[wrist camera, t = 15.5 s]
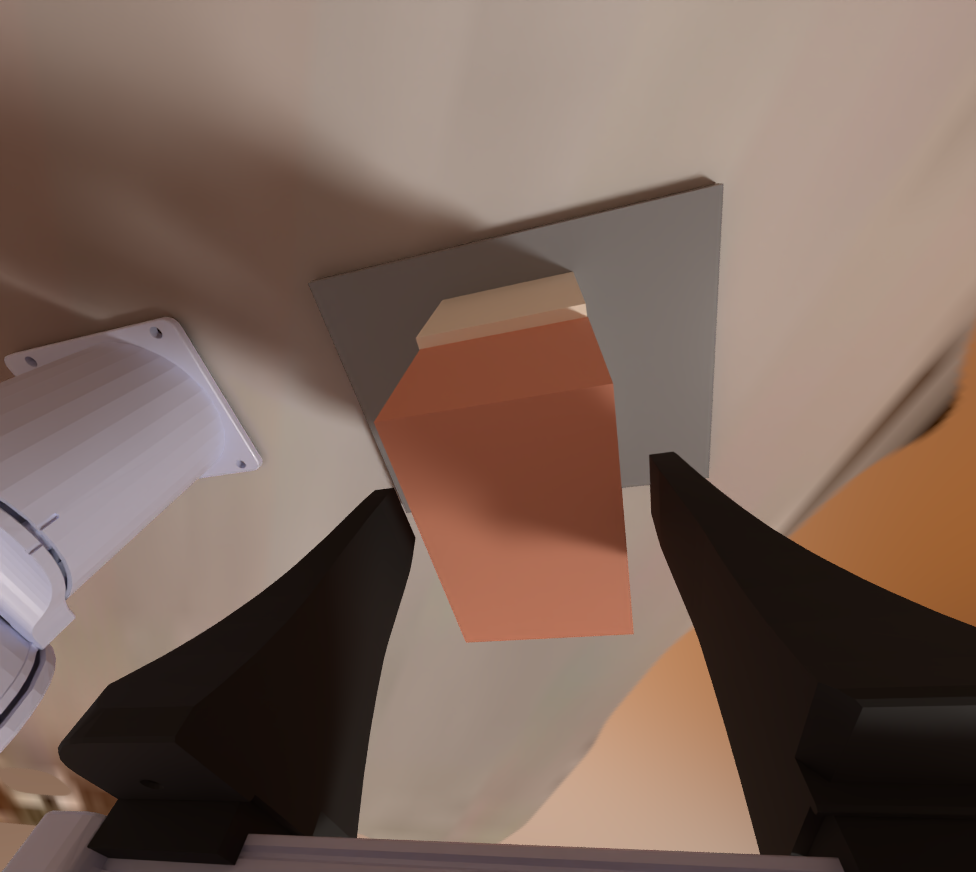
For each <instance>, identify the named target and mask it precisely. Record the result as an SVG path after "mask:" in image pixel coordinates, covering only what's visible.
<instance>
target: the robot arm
mask: <svg viewBox="0 0 976 872" xmlns="http://www.w3.org/2000/svg"><path fill="white" fill-rule="evenodd" d="M157 328H158V329H159V330H160V331H161V332H162V335H161V334H160V333H159V332H158V330H157ZM4 362H5V364H6V366H7V367H8V369H9V370H10V371H11V372H12V373H13V374H14V375H15V377H13V378H10V379H8V380H5V381H3V382H0V753H1V752H2V751H3V750H4V748H5V747H6V746H7V745H8V744H9V743H10V742H11V741H12V739H13V738H14V737H15V736H16V735H17V733H18V732H19V731H20V730H21V728H22V727H23V726H24V724H25V723H26V721H27V720H28V719H29V718H30V716H31V715H32V713H33V712H34V710H35V709H36V707H37V706H38V704H39V703H40V701H41V700H42V698H43V696H44V694H45V692H46V691H47V689H48V687H49V685H50V683H51V680H52V677H53V674H54V671H55V663H56V657H55V654H54V650H53V647H52V646H51V645H50V644H49V643H50V642H51V641H52V640H53V639H54V638H55V637H56V636H57V635H58V634H59V633H60V632H62V631H63V630H64V629H65V628H66V627H67V626H68V625H69V624H70V623H71V622H72V621H73V620H74V619H75V615H74V613H73V612H72V611H71V610H70V609H69V607H68V605H67V604H66V601H65V600H67V599H68V598H69V597H70V596H71V595H72V594H73V593H74V592H75V591H76V590H77V589H78V588H80V587H81V586H82V585H83V584H84V583H85V582H86V581H87V580H88V579H89V578H90V577H92V576H93V575H94V574H95V573H96V572H97V571H98V570H99V569H100V568H101V567H102V566H104V565H105V564H106V563H107V562H108V561H109V560H110V559H111V558H112V557H113V556H114V555H115V554H117V553H118V552H119V551H120V550H121V549H122V548H123V547H124V546H125V545H126V544H127V543H129V542H130V541H131V540H132V539H133V538H134V537H135V536H136V535H137V534H138V533H139V532H141V531H142V530H143V529H144V528H145V527H146V526H147V525H148V524H149V523H150V522H151V521H152V520H154V519H155V518H156V517H157V516H158V515H159V514H160V513H161V512H162V511H163V510H164V509H166V508H167V507H168V506H169V505H170V504H171V503H172V502H173V501H174V500H175V499H176V498H178V497H179V496H180V495H181V494H182V493H183V492H184V491H185V490H186V489H187V488H188V487H189V486H191V485H192V484H193V483H194V482H195V481H196V480H197V479H199V478H206V477H213V476H219V475H226V474H233V473H240V472H247V471H253V470H257V469H258V468H259V467H260V466H261V465H262V462H263V461H262V458H261V456H260V455H259V453H258V451H257V450H256V448H255V446H254V445H253V443H252V442H251V440H250V438H249V437H248V435H247V433H246V432H245V430H244V428H243V427H242V425H241V423H240V422H239V420H238V418H237V417H236V415H235V414H234V412H233V410H232V409H231V407H230V405H229V404H228V402H227V400H226V399H225V397H224V395H223V394H222V392H221V390H220V389H219V387H218V386H217V384H216V382H215V381H214V379H213V377H212V376H211V374H210V372H209V371H208V369H207V367H206V366H205V364H204V362H203V361H202V359H201V358H200V356H199V354H198V353H197V351H196V349H195V348H194V346H193V344H192V343H191V341H190V339H189V338H188V336H187V334H186V333H185V331H184V330H183V328H182V326H181V325H180V324H179V322H178V321H176V320H175V319H173V318H171V317H162V318H158V319H153V320H149V321H145V322H141V323H137V324H133V325H128V326H124V327H120V328H116V329H112V330H108V331H103V332H99V333H95V334H91V335H87V336H83V337H78V338H74V339H70V340H66V341H62V342H57V343H53V344H49V345H45V346H41V347H37V348H32V349H28V350H24V351H20V352H16V353H12V354H10V355H7V356H5V358H4ZM242 461H243V462H244V463H243V462H242ZM649 467H650V493H651V514H652V518H653V521H654V525H655V529H656V532H657V536H658V539H659V543H660V546H661V549H662V551H663V554H664V556H665V559H666V561H667V563H668V566H669V568H670V571H671V573H672V576H673V578H674V580H675V583H676V585H677V587H678V590H679V592H680V595H681V597H682V599H683V602H684V604H685V606H686V609H687V611H688V614H689V616H690V618H691V621H692V623H693V626H694V628H695V631H696V634H697V636H698V639H699V642H700V645H701V648H702V651H703V654H704V658H705V661H706V664H707V667H708V671H709V674H710V677H711V680H712V684H713V687H714V690H715V694H716V697H717V701H718V704H719V707H720V710H721V714H722V717H723V720H724V724H725V727H726V731H727V735H728V738H729V741H730V745H731V749H732V752H733V756H734V759H735V763H736V766H737V770H738V773H739V777H740V780H741V784H742V788H743V791H744V795H745V799H746V803H747V806H748V810H749V814H750V818H751V821H752V825H753V828H754V832H755V836H756V839H757V844H758V847H759V851H760V855H758V854H733V853H732V854H731V853H709V852H708V853H707V852H706V853H705V852H684V851H659V850H634V849H610V848H586V847H560V846H536V845H512V844H487V843H463V842H438V841H413V840H389V839H364V838H363V839H362V838H357V831H358V821H359V813H360V804H361V795H362V787H363V778H364V771H365V764H366V757H367V750H368V743H369V736H370V730H371V724H372V718H373V713H374V707H375V701H376V696H377V690H378V685H379V680H380V675H381V670H382V665H383V661H384V656H385V652H386V649H387V645H388V641H389V638H390V635H391V631H392V628H393V625H394V622H395V619H396V615H397V612H398V609H399V606H400V602H401V599H402V596H403V593H404V589H405V586H406V583H407V579H408V576H409V572H410V569H411V563H412V557H413V551H414V544H415V536H414V533H413V531H412V529H411V526H410V524H409V522H408V520H407V517H406V515H405V513H404V510H403V508H402V506H401V503H400V501H399V499H398V496H397V494H396V492H395V489H394V488H389V489H381V490H375V491H374V492H372V493H371V494H370V495H369V496H368V497H367V498H366V499H365V500H363V501H362V502H361V503H360V504H359V505H358V506H357V507H356V508H355V509H354V510H353V511H352V512H351V513H350V514H349V515H348V516H347V517H346V518H345V519H344V520H343V521H342V522H341V523H340V524H339V525H338V526H337V527H336V528H335V529H334V530H333V531H332V532H331V533H330V534H329V535H328V536H327V537H326V538H325V539H323V540H322V541H321V542H320V543H319V544H318V545H317V546H316V547H315V548H314V549H312V550H311V551H310V552H309V553H308V554H307V555H306V556H305V557H304V558H303V559H301V560H300V561H299V562H298V563H297V564H296V565H295V566H294V567H292V568H291V569H290V570H289V571H288V572H287V573H285V574H284V575H283V576H282V577H280V578H279V579H278V580H277V581H275V582H274V583H273V584H272V585H270V586H269V587H268V588H266V589H265V590H264V591H263V592H261V593H260V594H259V595H257V596H256V597H255V598H253V599H252V600H250V601H249V602H247V603H246V604H244V605H243V606H242V607H240V608H239V609H237V610H236V611H234V612H233V613H232V614H230V615H229V616H227V617H226V618H224V619H223V620H221V621H220V622H218V623H217V624H215V625H214V626H212V627H211V628H209V629H207V630H206V631H204V632H203V633H201V634H199V635H198V636H196V637H195V638H193V639H191V640H190V641H188V642H186V643H184V644H183V645H181V646H179V647H178V648H176V649H174V650H173V651H171V652H169V653H167V654H166V655H164V656H162V657H160V658H158V659H156V660H155V661H153V662H151V663H149V664H147V665H145V666H143V667H141V668H140V669H138V670H136V671H134V672H132V673H130V674H128V675H127V676H125V677H123V678H121V679H119V680H117V681H115V682H113V683H111V684H109V685H108V686H107V687H106V688H105V689H104V691H103V692H102V693H101V694H100V696H99V697H98V698H97V699H96V701H95V702H94V703H93V704H92V705H91V707H90V708H89V709H88V710H87V712H86V713H85V714H84V715H83V716H82V718H81V719H80V720H79V721H78V722H77V724H76V725H75V726H74V727H73V729H72V730H71V731H70V732H69V733H68V735H67V736H66V737H65V738H64V739H63V741H62V742H61V743H60V745H59V747H58V753H59V756H60V760H61V761H62V762H63V763H64V764H65V765H66V766H67V767H68V768H70V769H71V770H72V771H74V772H75V773H77V774H78V775H80V776H81V777H83V778H85V779H86V780H88V781H90V782H91V783H93V784H94V785H96V786H98V787H99V788H101V789H103V790H104V791H106V792H108V793H109V794H111V795H112V796H114V797H116V798H117V799H118V800H117V802H116V803H115V805H114V806H113V808H112V809H111V811H110V813H109V814H108V816H105V815H102V814H98V813H93V812H78V811H51V812H48V813H46V814H45V815H44V817H43V818H42V819H41V821H40V822H39V823H38V825H37V826H36V828H35V829H34V830H33V831H32V833H31V834H30V835H29V837H28V838H27V839H26V841H25V842H24V843H23V845H22V846H21V847H20V849H19V850H18V851H17V852H16V854H15V855H14V856H13V858H12V859H11V860H10V862H9V863H8V864H7V866H6V867H5V868H4V870H3V871H2V872H976V627H974V626H972V625H969V624H967V623H964V622H961V621H959V620H956V619H954V618H951V617H948V616H946V615H943V614H941V613H938V612H936V611H933V610H931V609H929V608H927V607H924V606H922V605H920V604H917V603H915V602H913V601H910V600H908V599H906V598H904V597H901V596H899V595H897V594H895V593H892V592H890V591H888V590H886V589H884V588H881V587H879V586H877V585H875V584H873V583H871V582H868V581H866V580H864V579H862V578H860V577H858V576H856V575H854V574H852V573H850V572H848V571H847V570H845V569H843V568H840V567H838V566H837V565H835V564H833V563H831V562H829V561H827V560H825V559H823V558H821V557H820V556H818V555H816V554H814V553H812V552H810V551H809V550H807V549H805V548H804V547H802V546H800V545H799V544H797V543H795V542H794V541H792V540H790V539H788V538H787V537H785V536H783V535H782V534H780V533H778V532H777V531H775V530H774V529H772V528H771V527H769V526H768V525H766V524H765V523H763V522H762V521H760V520H759V519H757V518H756V517H755V516H753V515H752V514H750V513H749V512H747V511H746V510H745V509H743V508H742V507H741V506H739V505H738V504H737V503H735V502H734V501H733V500H731V499H730V498H729V497H728V496H726V495H725V494H724V493H723V492H721V491H720V490H719V489H717V488H716V487H715V486H714V485H712V484H711V483H710V482H709V481H708V480H706V479H705V478H704V477H703V476H702V475H701V474H699V473H698V472H697V471H696V470H695V469H694V468H692V467H691V466H690V465H689V464H688V463H687V462H686V461H685V460H683V459H682V458H681V457H680V456H679V455H678V454H676V453H675V452H674V451H673V452H665V453H658V454H650V455H649Z"/></svg>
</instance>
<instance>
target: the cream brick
mask: <svg viewBox="0 0 976 872" xmlns="http://www.w3.org/2000/svg"><path fill="white" fill-rule="evenodd" d="M584 317H587V311H586V303H585V301H584V298H583V296H582V293H581V291H580V288H579V286H578V283H577V281H576V278H575V276H574V273H573V272H569V273H564V274H560V275H555V276H550V277H546V278H541V279H537V280H532V281H527V282H523V283H518V284H514V285H509V286H505V287H500V288H495V289H491V290H486V291H482V292H477V293H473V294H468V295H463V296H459V297H454V298H450V299H445V300H442V301H441V303H440V304H439V306H438V307H437V308H436V310H435V311H434V313H433V314H432V315H431V317H430V318H429V320H428V321H427V323H426V324H425V325H424V327H423V328H422V330H421V331H420V333H419V334H418V335H417V337H416V341H417V344H418V347H419V350H420V349H424V348H429V347H434V346H439V345H444V344H450V343H455V342H460V341H465V340H470V339H475V338H481V337H486V336H491V335H496V334H501V333H506V332H512V331H517V330H522V329H527V328H532V327H537V326H543V325H548V324H553V323H558V322H563V321H568V320H574V319H579V318H584Z"/></svg>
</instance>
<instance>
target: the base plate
mask: <svg viewBox="0 0 976 872" xmlns="http://www.w3.org/2000/svg"><path fill="white" fill-rule="evenodd" d="M723 185H724V184H720V183H717V184H713V185H709V186H705V187H701V188H696V189H692V190H688V191H684V192H680V193H676V194H671V195H667V196H663V197H659V198H655V199H651V200H646V201H642V202H638V203H634V204H630V205H626V206H621V207H617V208H613V209H609V210H605V211H601V212H596V213H592V214H588V215H584V216H580V217H576V218H571V219H567V220H563V221H559V222H555V223H551V224H546V225H542V226H538V227H534V228H530V229H526V230H521V231H517V232H513V233H509V234H505V235H501V236H496V237H492V238H488V239H484V240H480V241H476V242H471V243H467V244H463V245H459V246H455V247H451V248H446V249H442V250H438V251H434V252H430V253H426V254H421V255H417V256H413V257H409V258H405V259H401V260H396V261H392V262H388V263H384V264H380V265H376V266H371V267H367V268H363V269H359V270H355V271H351V272H346V273H342V274H338V275H334V276H330V277H326V278H321V279H317V280H313V281H311V282H309V283H308V284H309V287H310V289H311V291H312V294H313V296H314V298H315V301H316V303H317V305H318V308H319V310H320V312H321V315H322V317H323V319H324V322H325V324H326V326H327V329H328V331H329V333H330V336H331V338H332V340H333V343H334V345H335V347H336V350H337V352H338V354H339V357H340V359H341V361H342V364H343V366H344V368H345V371H346V373H347V375H348V378H349V380H350V382H351V385H352V387H353V389H354V392H355V394H356V396H357V399H358V401H359V403H360V406H361V408H362V410H363V413H364V415H365V417H366V420H367V422H368V424H369V427H370V429H371V431H372V434H373V436H374V438H375V441H376V443H377V445H378V448H379V450H380V452H381V455H382V457H383V459H384V462H385V464H386V466H387V469H388V471H389V473H390V476H391V478H392V480H393V483H394V485H395V487H396V490H397V492H398V494H399V497H400V499H401V501H402V504H403V506H404V508H405V511H406V513H409V512H411V510H410V508H409V505H408V503H407V500H406V498H405V496H404V493H403V491H402V489H401V486H400V484H399V481H398V479H397V477H396V474H395V472H394V469H393V467H392V465H391V462H390V460H389V458H388V455H387V453H386V450H385V448H384V446H383V443H382V441H381V439H380V436H379V434H378V431H377V429H376V427H375V424H374V421H375V419H376V418H377V416H378V415H379V413H380V411H381V410H382V408H383V407H384V405H385V404H386V402H387V400H388V399H389V397H390V396H391V394H392V393H393V391H394V389H395V388H396V386H397V385H398V383H399V381H400V380H401V378H402V377H403V375H404V374H405V372H406V370H407V369H408V367H409V366H410V364H411V363H412V361H413V359H414V358H415V356H416V355H417V353H418V351H419V347H418V344H417V341H416V337H417V335H418V334H419V333H420V331H421V330H422V328H423V327H424V325H425V324H426V323H427V321H428V320H429V318H430V317H431V315H432V314H433V313H434V311H435V310H436V308H437V307H438V306H439V304H440V303H441V301H442V300H445V299H450V298H454V297H459V296H463V295H468V294H473V293H477V292H482V291H486V290H491V289H495V288H500V287H505V286H509V285H514V284H518V283H523V282H527V281H532V280H537V279H541V278H546V277H550V276H555V275H560V274H564V273H569V272H573V273H574V276H575V278H576V281H577V283H578V286H579V288H580V291H581V293H582V296H583V298H584V301H585V303H586V311H587V317H588V318H589V321H590V324H591V326H592V329H593V332H594V334H595V337H596V339H597V342H598V345H599V347H600V350H601V353H602V355H603V358H604V361H605V363H606V366H607V369H608V371H609V374H610V376H611V379H612V382H613V387H614V400H615V412H616V424H617V437H618V449H619V461H620V473H621V486H622V488H626V487H634V486H643V485H650V467H649V455H650V454H658V453H665V452H673V451H674V452H675V453H676V454H678V455H679V456H680V457H681V458H682V459H683V460H685V461H686V462H687V463H688V464H689V465H690V466H691V467H692V468H694V469H695V470H696V471H697V472H698V473H699V474H701V475H702V476H703V477H704V478H709V461H710V442H711V422H712V402H713V382H714V363H715V343H716V323H717V303H718V284H719V264H720V244H721V224H722V205H723Z"/></svg>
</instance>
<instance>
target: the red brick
mask: <svg viewBox="0 0 976 872" xmlns="http://www.w3.org/2000/svg"><path fill="white" fill-rule="evenodd" d="M374 424H375V427H376V429H377V431H378V434H379V436H380V439H381V441H382V443H383V446H384V448H385V450H386V453H387V455H388V458H389V460H390V462H391V465H392V467H393V469H394V472H395V474H396V477H397V479H398V481H399V484H400V486H401V489H402V491H403V493H404V496H405V498H406V500H407V503H408V505H409V508H410V510H411V512H412V515H413V517H414V520H415V522H416V524H417V527H418V529H419V531H420V534H421V536H422V539H423V541H424V543H425V546H426V548H427V550H428V553H429V555H430V558H431V560H432V562H433V565H434V567H435V570H436V572H437V574H438V577H439V579H440V581H441V584H442V586H443V589H444V591H445V593H446V596H447V598H448V600H449V603H450V605H451V608H452V610H453V612H454V615H455V617H456V620H457V622H458V624H459V627H460V629H461V631H462V634H463V636H464V639H465V641H466V642H485V641H505V640H525V639H545V638H565V637H585V636H604V635H624V634H634V633H633V621H632V609H631V596H630V584H629V572H628V560H627V547H626V535H625V523H624V510H623V498H622V486H621V473H620V461H619V449H618V437H617V424H616V412H615V400H614V387H613V382H612V379H611V376H610V374H609V371H608V369H607V366H606V363H605V361H604V358H603V355H602V353H601V350H600V347H599V345H598V342H597V339H596V337H595V334H594V332H593V329H592V326H591V324H590V321H589V318H588V317H584V318H579V319H574V320H568V321H563V322H558V323H553V324H548V325H543V326H537V327H532V328H527V329H522V330H517V331H512V332H506V333H501V334H496V335H491V336H486V337H481V338H475V339H470V340H465V341H460V342H455V343H450V344H444V345H439V346H434V347H429V348H424V349H420V350H419V351H418V353H417V355H416V356H415V358H414V359H413V361H412V363H411V364H410V366H409V367H408V369H407V370H406V372H405V374H404V375H403V377H402V378H401V380H400V381H399V383H398V385H397V386H396V388H395V389H394V391H393V393H392V394H391V396H390V397H389V399H388V400H387V402H386V404H385V405H384V407H383V408H382V410H381V411H380V413H379V415H378V416H377V418H376V419H375V421H374Z"/></svg>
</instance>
